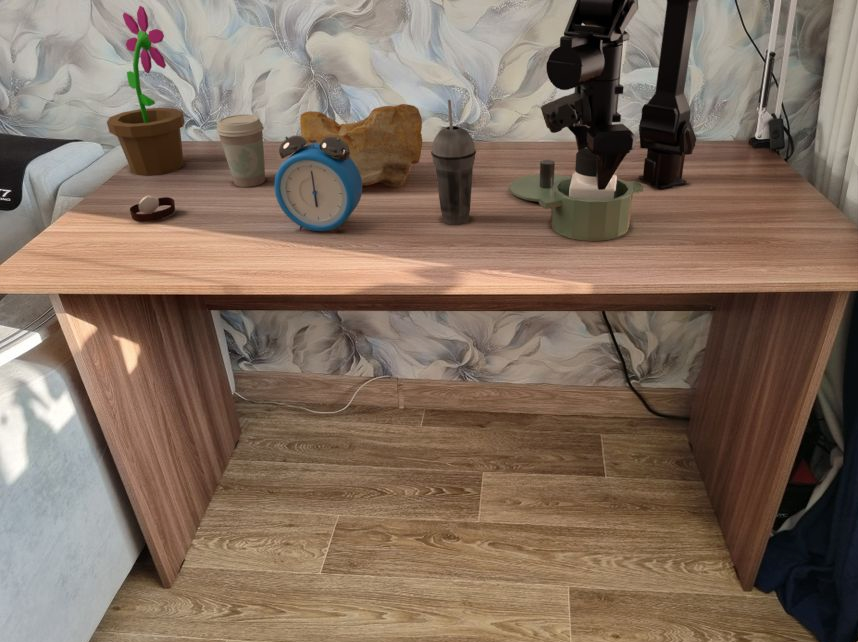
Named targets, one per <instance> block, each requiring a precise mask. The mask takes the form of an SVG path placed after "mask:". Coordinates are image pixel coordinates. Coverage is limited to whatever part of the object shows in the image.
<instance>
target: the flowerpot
mask: <svg viewBox="0 0 858 642" xmlns="http://www.w3.org/2000/svg"><path fill="white" fill-rule="evenodd" d="M148 17H149V16H148V14H147V12H146V9H145V7H144V6H142V5H139V6H138V9H137V11H136V19H137V21H136V20H135V19H134V17H133V16H132V15H130V14H129V13H127V12H123V14H122V19H123V21H124V23H125V26H126V27H127V28H128V30H129V31H130V32H131V33H132V34H134V35H137V37H131V38H128V39H127V40H126V43H125V47H126V49H127V51H130V52H132V53H133V52H134V54H133V61H132V69H133V72H132V70H130V71H129V70H128V71H126V76H127V82H128V85H129V87H130V88H132V90H134V89H135V93H136V95H137V100H138V104H139V109H134V110H128V111H122V112H120V113H118V114H115V115H112V116H110V117H109V118H108V119H107V120H106V124H107V128H108V131H109V132H108V133H109V134H111V135H113V136H115V137H117V139H118V142H119V145H120V147H121V149H122V151H123V154H124V156H125V159H126V161H127V163H128V166H129V168H130V170H131V172H132V173H134V174H136V175H141V176H142V175H143V176H155V175H156V176H157V175H164V174H168V173H173V172H175V171H177V170H179V169H182V168H183V165H184V154H183V153H184V152H183V144H182V133H181V129H182V128H184V125H185V122H186V121H185V117H184V113H183V111H182V110H179V109H177V108H173V107H172V108H171V107H151V106H152V105H153V106H154V105H155V104H156V102H155V100H154V99H152V98H151V97H149V96H147V95H146V94H145V93H143V92H142V88H141V82H140V81H141V80H140V70H139V61H140V64H141V66H142V68H143V70H144V73H146V74H150V72H151V70H152V67H153V66H152V60H153V62H154V63H155V64H156V66H158V67H160V68H162V69H165V68H166V66H167V64H166V61H165V58H164V56H163V54H162V53H161V52H160V50H159V49H158V47H155V46H152V44H153V45H156V44H159V43H162V42H163V40H164V37H165V35H164V32H163V30H161V29H158V28H154V29H152V30H149V29H148V28H149V18H148ZM148 30H149V31H148ZM147 31H148V33H147ZM141 49H142V50H141ZM146 107H150V108H146Z"/></svg>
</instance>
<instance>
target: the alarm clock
mask: <svg viewBox="0 0 858 642" xmlns="http://www.w3.org/2000/svg"><path fill="white" fill-rule="evenodd" d="M309 142H316V140H309ZM307 143H308V142H307V140H306V139H305V138H304V137H302V135H291V136H289V137H288V136H285V139H284V140H283V141H282V142H281V144H280V146H279V149H278V153H279V156H280V158H281V159H282V160H283V159H285V158H287V157H288V158H287V159H285V160H284V161H283V162H282V163H281V165H280V166H279V167H278V169H277V171H276V174H275V178H274V194H275V197H276V201H277V203H278V205H279V207H280V209H281V210H282V212H283V213H284V215H286V216H287V217H288V218H289V220H291V222H293V223H294V224H296V225H298V226H299V231H302V230H303V229H306V230H309V231H313V232H328V231H332V230H335V229H336V230H337V232H339V233H341V231H342V230H341V228H340V226H341V225H343V224H344V223H345V222H346V221H347V220H348V218H349V217H350V216H351V215H352V214H353V212H354V211H355V209H356V208H357V206H358V205H359V203H360V201H361V199H362V195H363V185H362V180H361V176H360V173H359V171H358V168H357V167H356V165H355V163H354V162H353V161H352V160H351V158H350V157H349V155H350V150H349V147H348V145H347V144H346V142H345V141H343V140H342V139H340V138H338V137H335V136H329V137H326V138H324V139H323V140H322V141H321V142H320V143H314V144H309V145H306V144H307ZM304 145H306V146H304Z"/></svg>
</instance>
